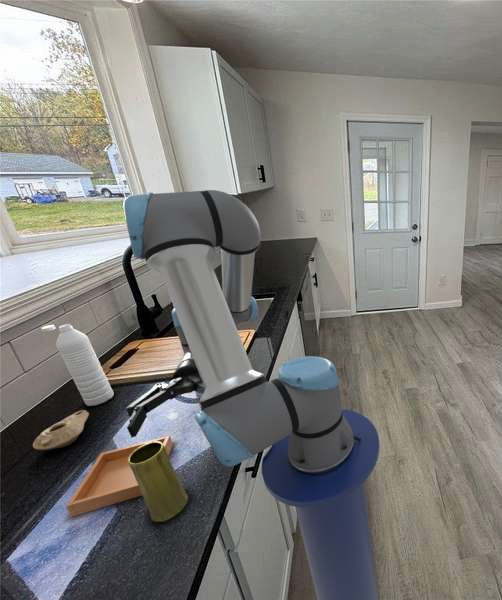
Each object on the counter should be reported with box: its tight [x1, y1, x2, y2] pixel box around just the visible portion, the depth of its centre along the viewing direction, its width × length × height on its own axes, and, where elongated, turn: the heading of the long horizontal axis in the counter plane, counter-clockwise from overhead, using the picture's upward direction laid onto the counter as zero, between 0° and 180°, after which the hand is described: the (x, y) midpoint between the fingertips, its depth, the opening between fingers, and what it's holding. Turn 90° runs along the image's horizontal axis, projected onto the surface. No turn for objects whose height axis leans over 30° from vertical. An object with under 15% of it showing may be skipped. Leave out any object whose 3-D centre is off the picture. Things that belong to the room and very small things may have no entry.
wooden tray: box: [65, 434, 174, 517], centre depth 68 cm, size 14×14×3 cm
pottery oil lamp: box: [32, 409, 90, 451], centre depth 79 cm, size 9×12×7 cm
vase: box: [128, 441, 189, 523], centre depth 59 cm, size 6×6×14 cm
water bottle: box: [40, 323, 115, 407], centre depth 90 cm, size 9×6×25 cm
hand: (169, 423), depth 67 cm, fingers open, 13 cm apart
